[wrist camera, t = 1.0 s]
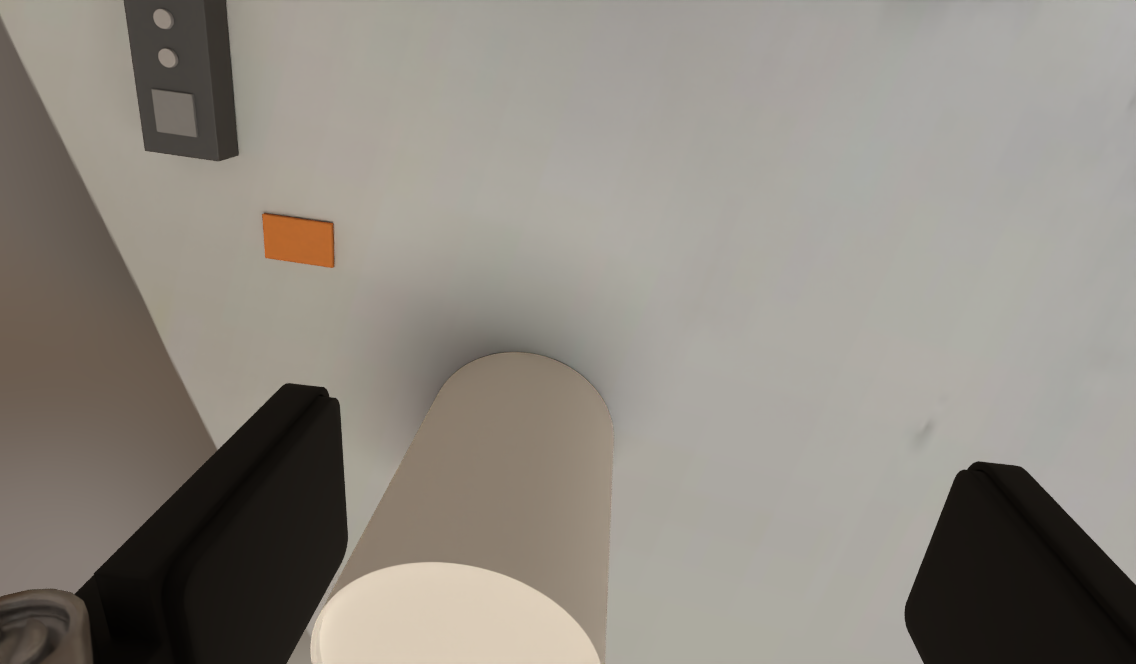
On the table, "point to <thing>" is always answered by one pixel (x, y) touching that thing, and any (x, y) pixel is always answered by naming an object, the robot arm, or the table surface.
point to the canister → (486, 530)
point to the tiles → (298, 240)
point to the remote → (183, 77)
